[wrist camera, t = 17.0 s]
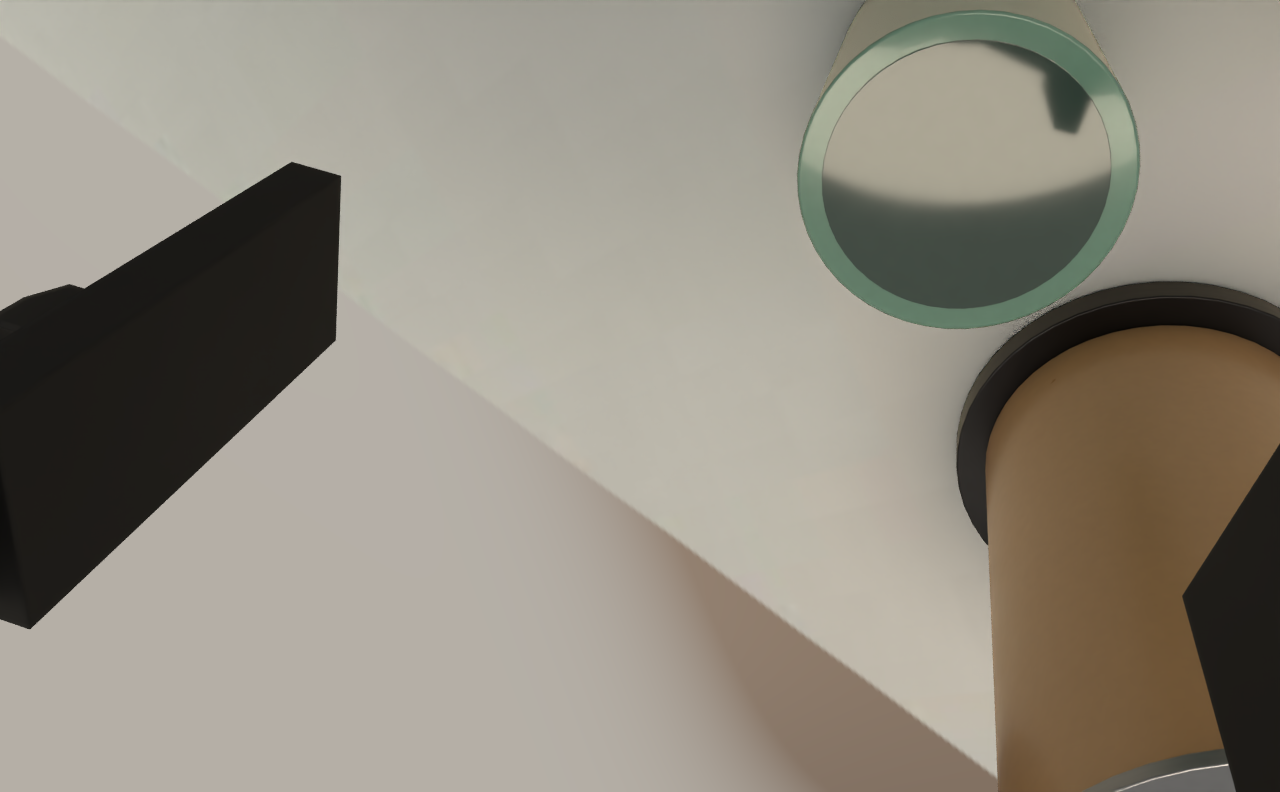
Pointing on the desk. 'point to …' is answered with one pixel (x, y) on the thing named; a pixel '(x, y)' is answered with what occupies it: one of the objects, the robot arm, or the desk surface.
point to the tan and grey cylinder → (1114, 525)
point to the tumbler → (967, 159)
